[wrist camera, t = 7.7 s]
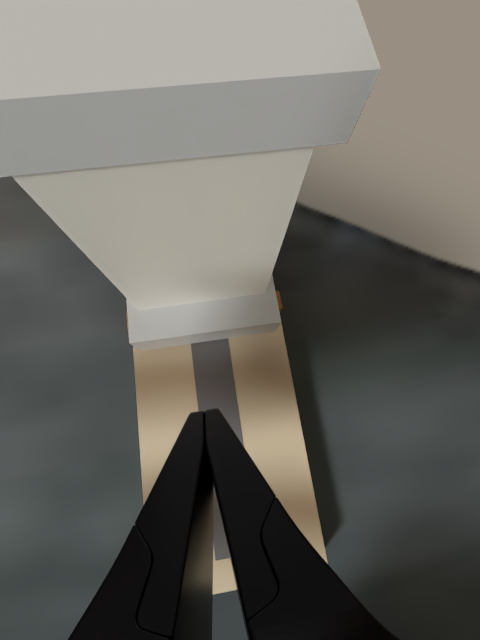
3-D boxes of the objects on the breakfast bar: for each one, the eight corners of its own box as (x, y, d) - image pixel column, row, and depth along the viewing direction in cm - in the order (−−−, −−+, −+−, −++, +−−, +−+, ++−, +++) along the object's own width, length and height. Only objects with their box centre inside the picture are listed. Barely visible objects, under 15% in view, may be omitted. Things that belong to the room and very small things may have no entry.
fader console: (323, 554, 16) (334, 571, 14) (153, 588, 15) (145, 609, 14) (263, 241, 20) (266, 227, 19) (130, 257, 19) (122, 244, 18)
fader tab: (275, 331, 17) (402, 133, 4) (141, 350, 16) (-125, 184, 4) (259, 246, 18) (326, -89, 6) (134, 261, 17) (-83, -72, 5)
